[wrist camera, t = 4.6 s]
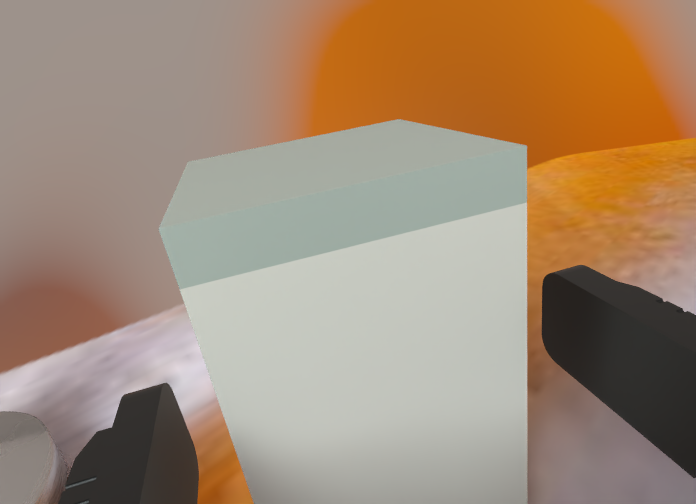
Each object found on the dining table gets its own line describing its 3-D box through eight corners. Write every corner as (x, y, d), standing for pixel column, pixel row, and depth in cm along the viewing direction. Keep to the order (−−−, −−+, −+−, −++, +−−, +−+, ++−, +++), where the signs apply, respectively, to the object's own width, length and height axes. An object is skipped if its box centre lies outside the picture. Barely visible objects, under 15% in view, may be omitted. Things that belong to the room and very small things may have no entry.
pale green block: (429, 391, 17) (399, 119, 13) (527, 538, 11) (526, 145, 7) (272, 441, 16) (188, 161, 12) (298, 629, 10) (158, 228, 6)
